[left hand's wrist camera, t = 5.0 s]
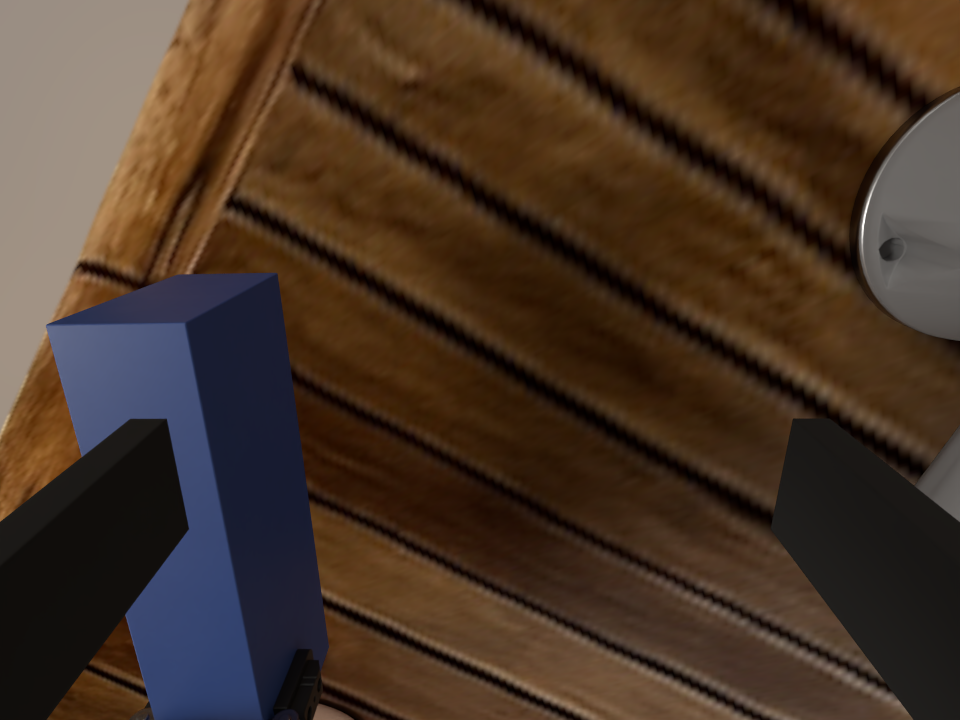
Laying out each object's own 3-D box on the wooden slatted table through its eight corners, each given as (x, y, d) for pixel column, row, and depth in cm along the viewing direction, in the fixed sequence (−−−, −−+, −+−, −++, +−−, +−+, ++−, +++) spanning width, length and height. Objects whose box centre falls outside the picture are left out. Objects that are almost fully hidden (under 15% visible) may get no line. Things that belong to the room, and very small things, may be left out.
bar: (177, 274, 28) (44, 324, 20) (277, 272, 28) (185, 322, 20) (249, 646, 36) (174, 794, 27) (329, 647, 36) (277, 796, 27)
